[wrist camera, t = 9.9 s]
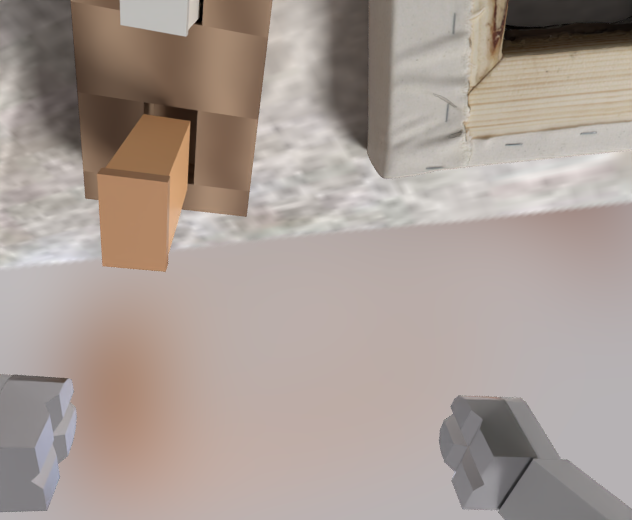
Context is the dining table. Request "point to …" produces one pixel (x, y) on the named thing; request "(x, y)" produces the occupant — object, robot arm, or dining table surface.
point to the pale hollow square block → (491, 87)
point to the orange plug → (144, 194)
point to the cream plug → (161, 15)
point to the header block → (175, 92)
